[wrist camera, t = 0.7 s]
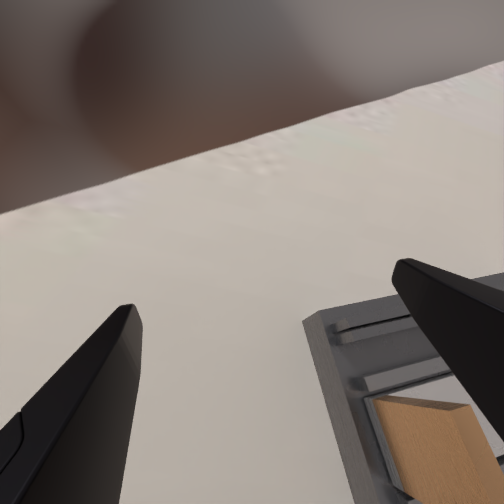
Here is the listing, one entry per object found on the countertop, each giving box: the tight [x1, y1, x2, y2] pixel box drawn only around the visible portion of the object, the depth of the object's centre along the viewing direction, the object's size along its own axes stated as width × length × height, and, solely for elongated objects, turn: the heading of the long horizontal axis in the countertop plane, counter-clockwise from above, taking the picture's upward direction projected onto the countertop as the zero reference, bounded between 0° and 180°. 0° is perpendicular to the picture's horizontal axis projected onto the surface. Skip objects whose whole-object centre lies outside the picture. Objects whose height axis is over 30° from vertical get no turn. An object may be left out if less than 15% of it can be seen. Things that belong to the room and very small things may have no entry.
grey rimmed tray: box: [302, 273, 504, 504], centre depth 18 cm, size 16×22×7 cm
